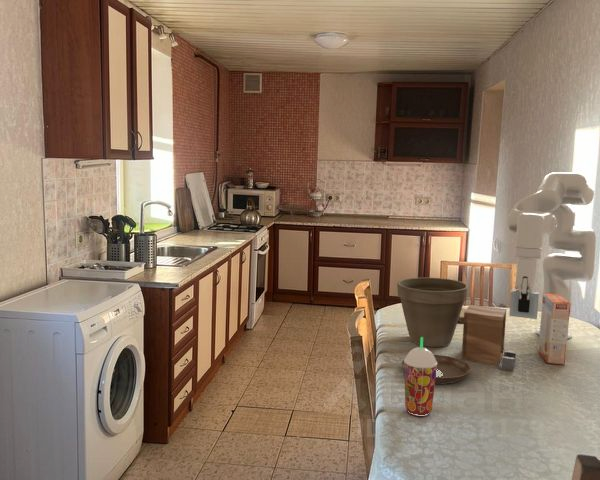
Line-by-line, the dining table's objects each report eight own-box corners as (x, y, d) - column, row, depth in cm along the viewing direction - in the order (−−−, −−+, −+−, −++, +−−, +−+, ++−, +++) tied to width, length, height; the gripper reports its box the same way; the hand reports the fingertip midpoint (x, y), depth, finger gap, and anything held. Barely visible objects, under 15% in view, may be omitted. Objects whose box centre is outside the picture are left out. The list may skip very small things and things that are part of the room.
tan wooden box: (467, 349, 198) (469, 304, 196) (503, 354, 193) (506, 309, 191) (461, 359, 187) (464, 312, 185) (499, 365, 182) (502, 317, 180)
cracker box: (566, 365, 183) (571, 302, 181) (546, 363, 185) (551, 301, 182) (555, 352, 197) (560, 293, 194) (537, 350, 198) (542, 292, 196)
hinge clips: (501, 361, 186) (502, 350, 185) (515, 363, 184) (516, 352, 183) (498, 369, 178) (499, 357, 178) (513, 371, 177) (514, 359, 176)
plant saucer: (394, 381, 167) (395, 370, 167) (407, 359, 186) (408, 350, 186) (466, 392, 160) (467, 381, 159) (472, 369, 179) (473, 359, 179)
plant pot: (388, 346, 200) (390, 286, 197) (402, 328, 223) (404, 274, 220) (460, 356, 191) (464, 293, 188) (468, 336, 213) (471, 280, 211)
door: (510, 313, 181) (511, 289, 180) (537, 316, 177) (538, 292, 176) (509, 315, 178) (510, 291, 177) (536, 319, 174) (538, 293, 173)
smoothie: (398, 405, 149) (401, 332, 147) (428, 405, 150) (432, 332, 147) (406, 419, 141) (410, 342, 138) (439, 419, 142) (443, 342, 139)
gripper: (517, 248, 184) (513, 303, 186) (512, 255, 169) (508, 315, 171) (542, 250, 181) (537, 306, 183) (539, 257, 166) (535, 318, 168)
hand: (523, 310), depth 177 cm, fingers closed on door, 3 cm apart
